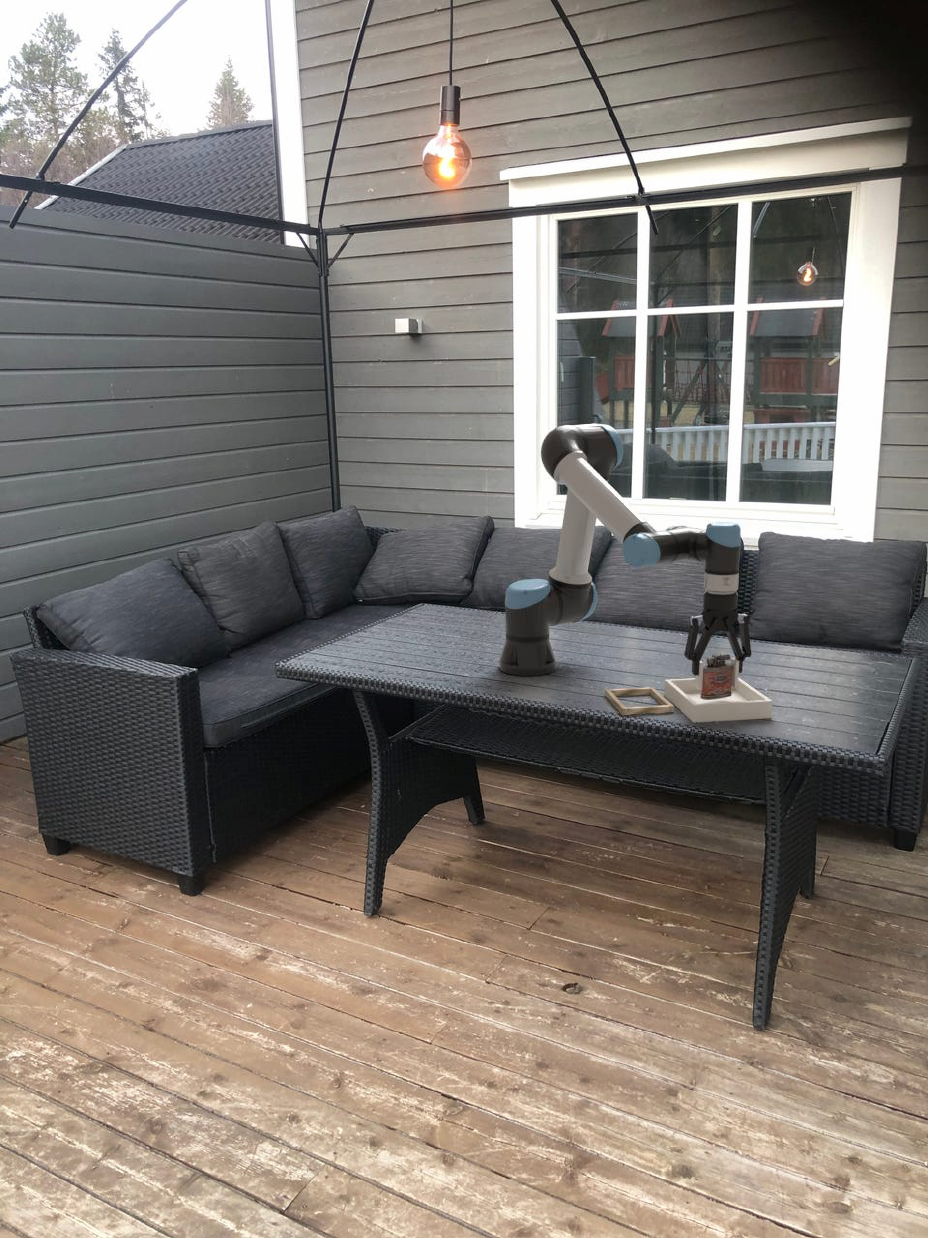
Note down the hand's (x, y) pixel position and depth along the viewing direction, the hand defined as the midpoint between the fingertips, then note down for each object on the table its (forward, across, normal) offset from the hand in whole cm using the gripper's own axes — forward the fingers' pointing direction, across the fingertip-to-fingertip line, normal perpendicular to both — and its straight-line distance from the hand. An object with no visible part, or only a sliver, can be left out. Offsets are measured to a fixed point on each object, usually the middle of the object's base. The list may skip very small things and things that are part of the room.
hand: (716, 687), depth 224 cm
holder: (+5, -17, +5) cm, 18 cm away
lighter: (+2, 0, 0) cm, 2 cm away
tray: (+5, 0, 0) cm, 5 cm away
